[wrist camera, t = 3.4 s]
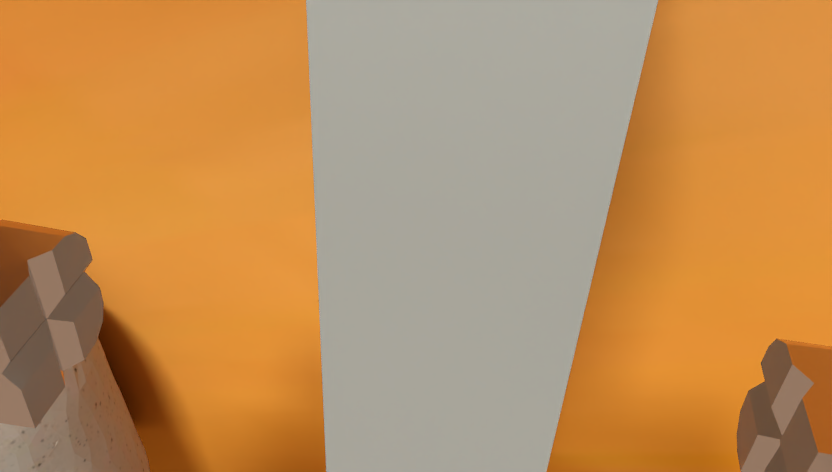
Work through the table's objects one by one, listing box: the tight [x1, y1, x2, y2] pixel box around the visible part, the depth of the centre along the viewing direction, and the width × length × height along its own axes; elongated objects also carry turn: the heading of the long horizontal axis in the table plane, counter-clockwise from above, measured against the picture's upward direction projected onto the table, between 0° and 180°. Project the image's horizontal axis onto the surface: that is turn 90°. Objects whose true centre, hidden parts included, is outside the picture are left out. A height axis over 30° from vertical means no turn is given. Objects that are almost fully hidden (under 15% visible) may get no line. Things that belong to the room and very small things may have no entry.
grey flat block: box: [306, 0, 658, 472], centre depth 13 cm, size 14×3×10 cm, turn 177°
